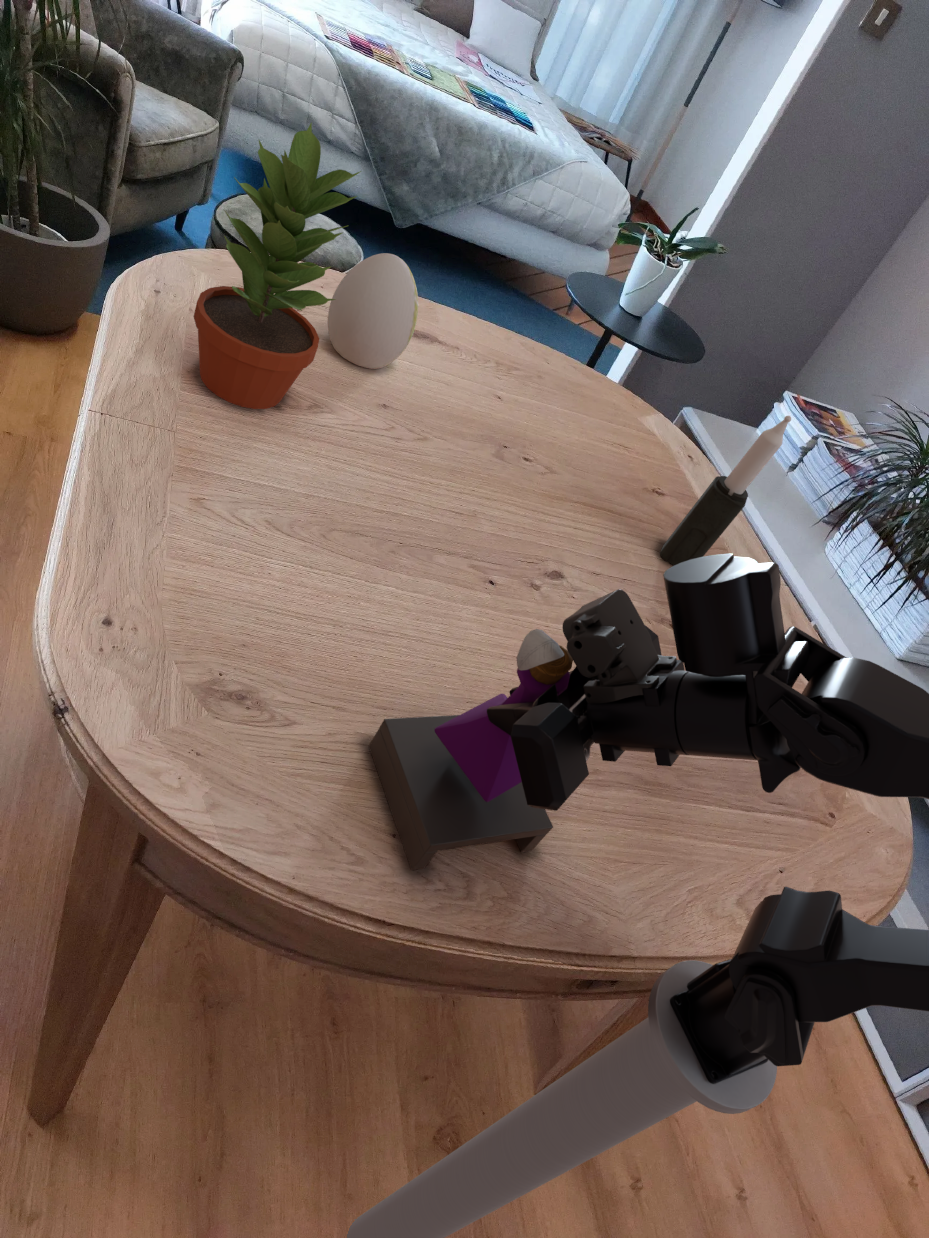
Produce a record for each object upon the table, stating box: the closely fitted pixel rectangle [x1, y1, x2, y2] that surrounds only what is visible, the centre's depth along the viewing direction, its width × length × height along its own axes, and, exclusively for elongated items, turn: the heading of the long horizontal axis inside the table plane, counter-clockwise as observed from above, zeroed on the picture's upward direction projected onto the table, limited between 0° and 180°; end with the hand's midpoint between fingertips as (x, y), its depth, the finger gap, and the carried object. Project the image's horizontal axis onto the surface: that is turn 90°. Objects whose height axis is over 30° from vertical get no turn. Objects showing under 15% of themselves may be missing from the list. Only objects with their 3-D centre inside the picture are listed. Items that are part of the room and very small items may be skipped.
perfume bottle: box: [434, 628, 574, 802], centre depth 64 cm, size 8×8×18 cm
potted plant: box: [193, 122, 362, 410], centre depth 95 cm, size 15×15×30 cm
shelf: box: [368, 714, 554, 871], centre depth 72 cm, size 12×12×4 cm
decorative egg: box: [327, 252, 419, 370], centre depth 118 cm, size 12×12×15 cm
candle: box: [659, 415, 792, 566], centre depth 113 cm, size 5×5×25 cm
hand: (500, 704), depth 66 cm, fingers closed on perfume bottle, 3 cm apart
